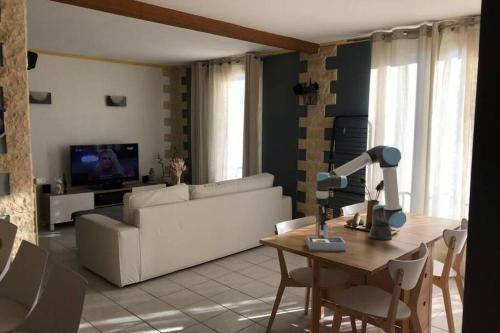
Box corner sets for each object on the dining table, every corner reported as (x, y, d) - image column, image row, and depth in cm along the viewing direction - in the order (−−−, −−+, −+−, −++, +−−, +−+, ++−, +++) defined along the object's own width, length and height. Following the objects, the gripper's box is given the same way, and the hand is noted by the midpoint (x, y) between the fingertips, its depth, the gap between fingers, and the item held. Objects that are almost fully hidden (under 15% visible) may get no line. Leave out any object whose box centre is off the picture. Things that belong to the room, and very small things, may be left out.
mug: (320, 241, 265) (321, 225, 264) (312, 238, 272) (312, 222, 272) (334, 239, 272) (334, 223, 271) (325, 236, 279) (326, 221, 278)
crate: (340, 244, 259) (340, 237, 259) (345, 251, 245) (345, 243, 245) (306, 244, 259) (306, 236, 259) (309, 250, 245) (309, 242, 245)
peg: (323, 237, 254) (324, 215, 252) (324, 239, 250) (325, 217, 248) (317, 237, 254) (317, 215, 252) (318, 238, 250) (318, 216, 248)
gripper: (314, 195, 258) (313, 230, 260) (318, 199, 241) (317, 237, 243) (325, 195, 258) (324, 231, 260) (330, 199, 241) (329, 237, 243)
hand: (321, 234), depth 251 cm, fingers closed on peg, 4 cm apart
